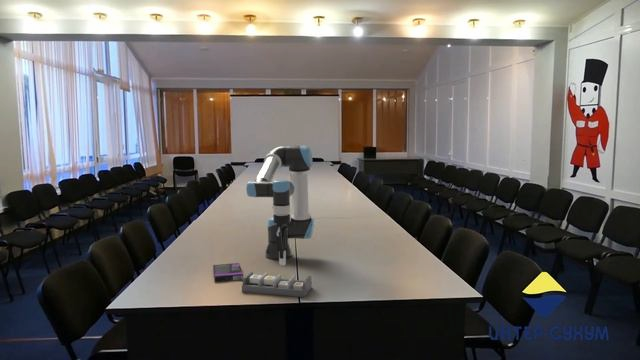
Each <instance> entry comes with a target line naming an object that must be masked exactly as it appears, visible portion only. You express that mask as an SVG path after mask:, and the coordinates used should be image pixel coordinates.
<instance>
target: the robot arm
mask: <svg viewBox="0 0 640 360" xmlns="http://www.w3.org/2000/svg"><path fill="white" fill-rule="evenodd" d="M312 153H313V152H312V150H311V148H310V146H308V145H279V146H277V147H274V148H273V149H271V150H270V151H269V152H267V154H266V155H265V157H264V159H263V165H262V167H261V169H260V170H259V172H258V174H257V176H256V178H255V179H254V180H251V181H247V183H246V189H245V190H246V195H247V196H248V197H250V198H272V201H273V202H272V209H273V216H271V217H269V218H268V220H267V240H268V241H267V245H266V249H265V253H264V255H265V257H266V258H267V259H269V260H270V259H271V260H278V264H279V266H285V265H287V259H288V258H290V257H292V249H291V247H290V244H289V243H290V242H289V239H293V240H294V239H297V240H307V239H308V240H309V239H311V238H312V237H313V232H314V226H315V219H314V218H312V215H311V213H310V212H309V190H308V188H309V187H308V172H310V170H311V168H312V167H313V154H312ZM282 167H283V168H285V167H286V168H288V170H289V172H290V173H291V181H290V180H288V179H275V180H273V179H274V177H275V175H276V172H277V170H279V169H280V168H282ZM291 196H292V206H293V207H292V208H293V209H292V211H293V213H292V214H291V215H290V213H291V205H290V204H291V202H290V201H291V198H290V197H291Z"/></svg>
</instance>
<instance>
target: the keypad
mask: <svg viewBox="0 0 640 360" xmlns="http://www.w3.org/2000/svg"><path fill="white" fill-rule="evenodd" d="M252 275H254V271H252V270H251V271H249V272H248V273H247V274H245V275H244V276H243V279H242V285H241V292H243V293H253V294H263V295H264V294H266V295H273V296H287V297H297V298H306V296H307V295H308V294H309V292H310V291H311V289H312V287H313V286H312V285H313V284H312V283H313V282H312V276H311V275H308V276H307V277H306V278H305V280H297V279H296V275H295V274H293V275H292V277H290V278H289V279H286V278H284V279H283V278H282V274H281V273H279V274H278V275H277V276H276V278H275V279H274V280H273V285H269V284H264V278H265V277H266V276H268V272H265V273H263V275H262V277H260V278H259V279H258V284H257V283H250V280H249V278H250V277H251V276H252ZM280 281H288V288H278V284H279V283H280ZM295 282H303V290H301V289H293V284H294V283H295Z"/></svg>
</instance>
